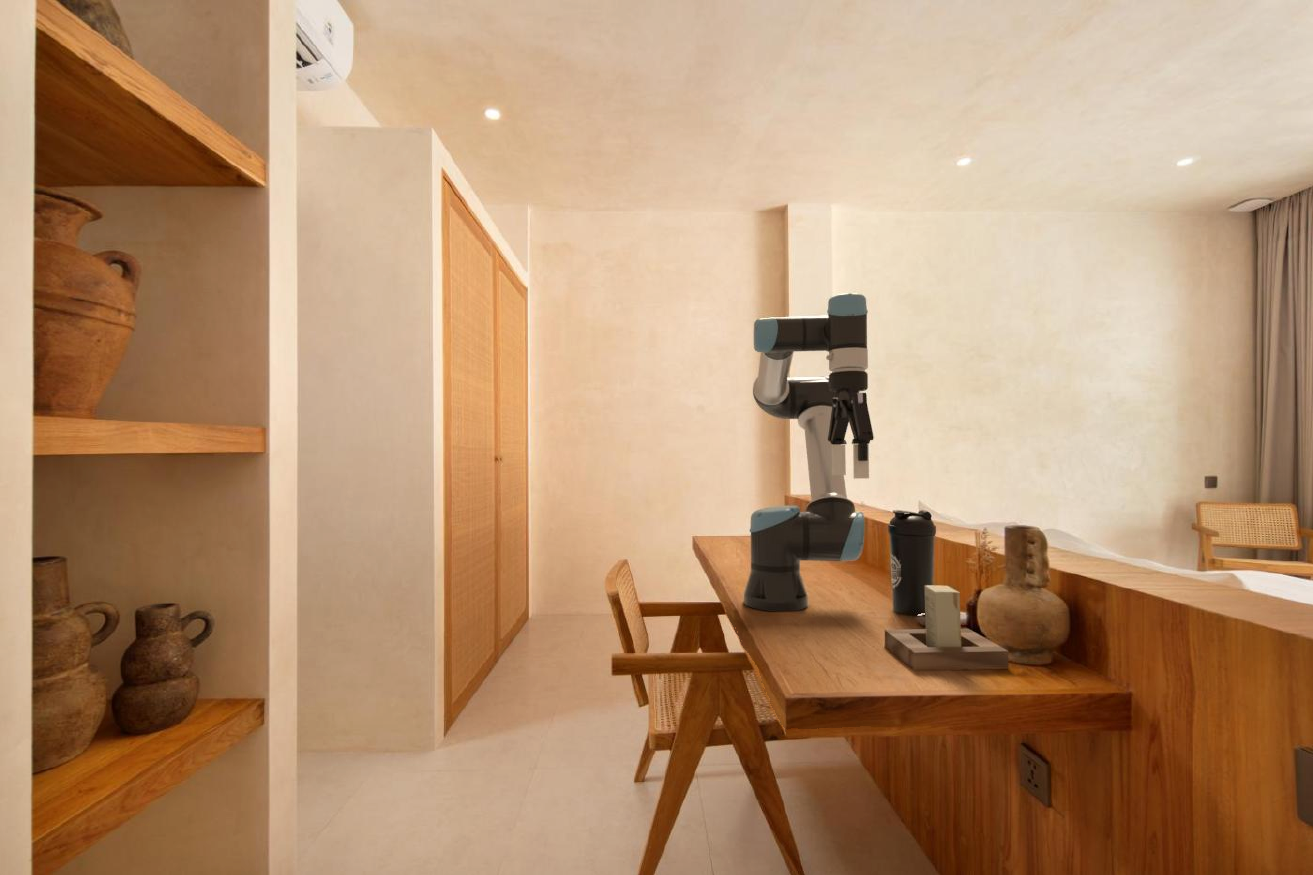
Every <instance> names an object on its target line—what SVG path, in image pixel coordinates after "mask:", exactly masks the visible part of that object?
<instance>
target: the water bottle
mask: <svg viewBox="0 0 1313 875" xmlns="http://www.w3.org/2000/svg"><path fill="white" fill-rule="evenodd" d="M892 513H893V514H894V517H892V518H891V519H890V521H889V523H887V533H888V534H889V550H890V552H889V555H890V575H891V576H890V577H891V578H890V579H891V592H892V594H891V595H892V610H893V612H894V613H896V614H899V615H904V616H910V617H918V616H917V615H918V614H921V613H925V585H934V582H935V580H934V572H935V569H934V568H935V562H934V561H935V536H936V534H937V525H935V524H934V521H933V520H932V514H931V512H929V511H927V510H925V509H921V510H919V511H918V512H913V511H909V510H900V509H895V510H892Z"/></svg>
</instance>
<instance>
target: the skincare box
mask: <svg viewBox="0 0 1313 875" xmlns="http://www.w3.org/2000/svg"><path fill="white" fill-rule="evenodd" d="M960 594H961V593H960V591H958V590H956V589H954V588H953V587H951V586H949V585H938V584H937V585H936V584H935V585H934V584H933V585H925V616H924V617H925V629H926V646H927V647H961V629H962V626H961V623H962V622H961V595H960Z"/></svg>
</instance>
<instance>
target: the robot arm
mask: <svg viewBox="0 0 1313 875" xmlns="http://www.w3.org/2000/svg"><path fill="white" fill-rule="evenodd" d="M827 303H828V304H827V310H826V312H827V315H818V316H817V315H816V316H815V315H814V316H812V315H811V316H788V317H787V316H785V317H782V316H781V317H773V316H771V317H765V318H757V319H756V320H754V322H753V349H754V351H755V352H757V353H760V357H759V365H758V372H757V373H758V374H757V377H756V378H755V379H754V382H753V386H752V396H753V398H754V400H755V403H756V405H757V406H758V407H759V409H761V410H763V412H766V413H767V414H768V415H770V416H772V417H775V418H777V419H782V420H797V423H798V426H799V427H800V428H801V429H802V430H804V438H805V448H806V449H805V451H806V459H807V470H808V480H809V490H810V500H811V501H810V502H808V503H807V505H806V507H805V511H801V509H800V507H799V506H798V505H778V506H770V507H764V508H760V509H757V510H755V511H753V513H752V514H751V516H750V528H749V533H750V573H749V575H748V580H747V582H746V586H745V589H744V592H743V604H745V606H747V607H748V608H752V609H756V610H759V611H760V610H761V611H767V612H768V611H769V612H792V611H793V612H794V611H795V612H796V611H799V610H803V609H805V608H807V607H808V605H809V604H808V603H809V602H808V601H809V600H808V596H809V595H808V594H807V593H808V592H807V591H806V590H807V589H806V586H805V584H804V581H803V578H802V575H801V568H800V567H801V565H800V563H801V562H800V561H809V562H810V561H811V562H813V561H816V562H817V561H820V562H838V563H841V562H852V561H853V562H854V561H856V560H859V558H860V557H861V555H862V553H863V547H864V542H865V530H866V528H865V527H866V522H865V521H866V520H865V515H864V513H863V512H862V511H858V510H856V507H855V504H854V502H853V500H850V499H849V498H848V497H847V495H848V494H847V488H846V482H845V481H846V480H845V476H846V475H847V474H846V473H847V472H846V471H847V470H846V468H847V467H846V466H847V465H846V463H847V462H846V445H847V443H848V442H847V441H846V434H847V430H848V426H849V427H850V430H851V433H852V435H853V438H852V441H851V445H852V451H853V452H852V453H853V454H852V455H853V456H852V458H853V459H852V460H853V461H852V462H853V464H852V466H853V470H852V471H853V479H870V459H869V458H870V456H869V454H870V453H869V452H870V450H869V446H870V445H869V444H870V443H871V441H873V440H874V438H875V437H874V432H873V427H872V421H871V417H870V413H869V412H870V411H869V408H868V406H869V405H868V402H867V401H868V398H867V396H868V395H867V393H866V391H867V390H868V388H869V382H868V380H869V378H868V376H869V374H868V372H867V371H866V370H867V369H868V368H869V364H868V363H869V357H868V356H869V355H868V352H869V351H868V350H869V349H868V329H867V328H868V322H867V321H868V313H869V312H868V308H867V299H866V296H865V295H863V294H861V293H855V292H848V293H846V292H844V293H840V294H836V295H833V296H831V297H830V298H829V299H828V302H827ZM819 351H820V352H822V351H823V352H824V351H826V352H827V353H828V355H826V358H825V359H826V360H827V361H828V369H829V371H830V372H831V373H829V375H828V376H826V375H824V376H823V375H822V376H820V377H818V376H816V377H813V376H811V377H810V376H809V377H808V376H807V377H806V376H805V377H804V376H803V377H800V376H799V377H789V375H790V370H791V365H792V362H793V361H792V360H793V357H794V353H795V352H819Z"/></svg>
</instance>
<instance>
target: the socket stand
mask: <svg viewBox="0 0 1313 875" xmlns="http://www.w3.org/2000/svg"><path fill="white" fill-rule="evenodd" d="M884 646H885V647H886V648H887V649H888V650H889V651H891V652H892V653H893V654H894V655H895V656H897V657H898V658H899V659H900V660H902V662H904V663H905V664H906V665H908V666H909V667H910V668H911V667H912V668H911V669H912V670H914V671H957V670H958V671H959V670H960V669H969V670H971V671H972V670H974V671H975V670H1009V668H1010V667H1009V664H1010V663H1009V660H1010V658H1009V650H1007V649H1006V648H1003V647H1002V646H1000V645H998V644H997V643H995V642H993V641H991V640H989V639H987V638H986V637H984V636H982V635H981V634H979V633H977V632H975V631H973V630H971V629H969V628H961V647H927V646H926V628H925V629H924V628H922V629H921V628H919V629H918V628H913V629H912V628H911V629H904V628H903V629H884Z"/></svg>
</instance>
